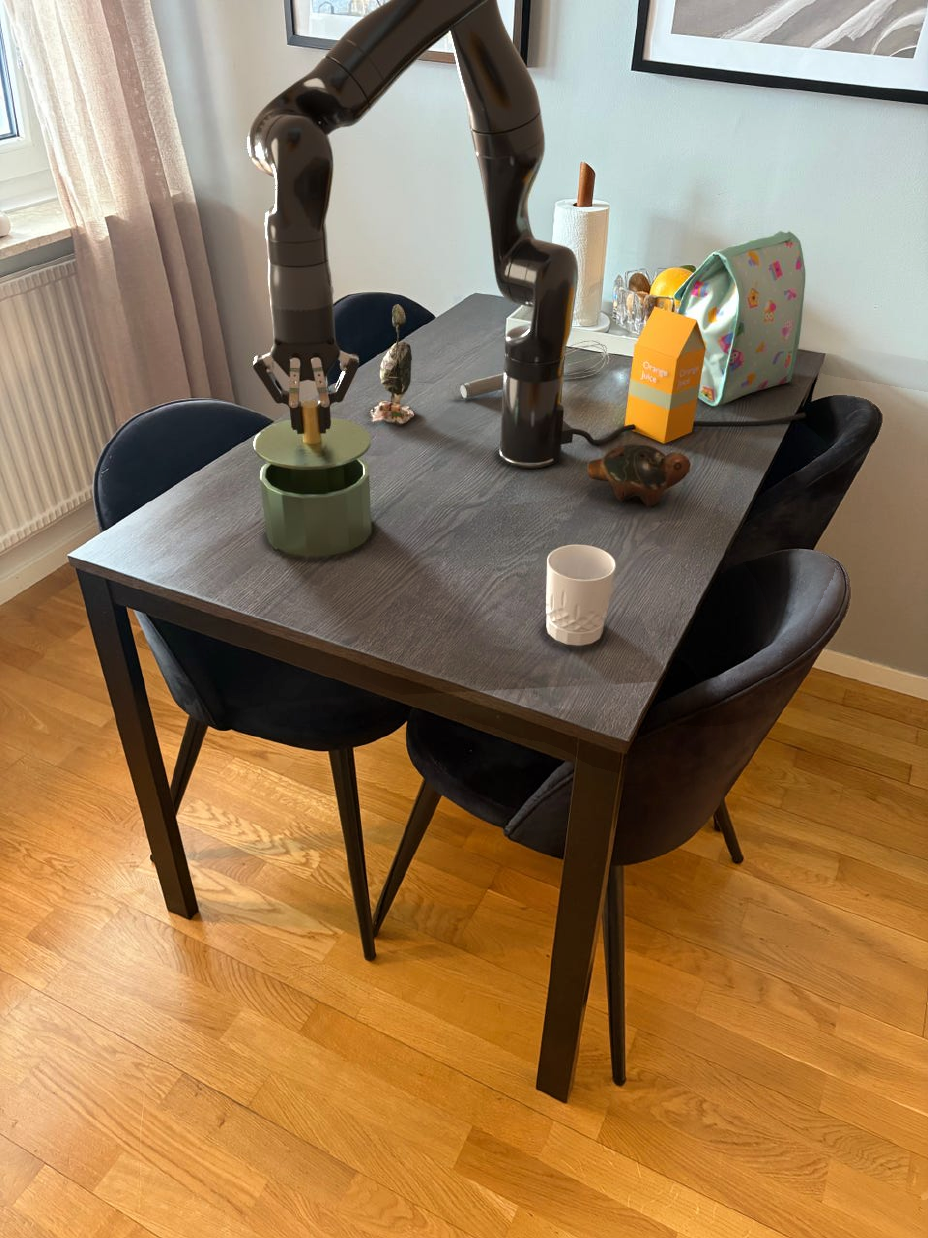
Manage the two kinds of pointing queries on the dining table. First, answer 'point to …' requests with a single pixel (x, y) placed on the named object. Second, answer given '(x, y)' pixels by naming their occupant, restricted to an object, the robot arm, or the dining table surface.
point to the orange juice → (665, 376)
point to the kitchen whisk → (497, 380)
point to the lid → (312, 442)
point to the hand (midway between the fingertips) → (312, 430)
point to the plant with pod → (395, 377)
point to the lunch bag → (747, 315)
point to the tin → (317, 508)
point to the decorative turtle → (639, 471)
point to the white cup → (578, 593)
